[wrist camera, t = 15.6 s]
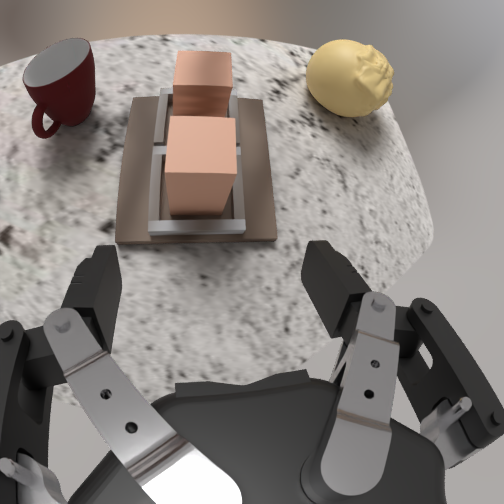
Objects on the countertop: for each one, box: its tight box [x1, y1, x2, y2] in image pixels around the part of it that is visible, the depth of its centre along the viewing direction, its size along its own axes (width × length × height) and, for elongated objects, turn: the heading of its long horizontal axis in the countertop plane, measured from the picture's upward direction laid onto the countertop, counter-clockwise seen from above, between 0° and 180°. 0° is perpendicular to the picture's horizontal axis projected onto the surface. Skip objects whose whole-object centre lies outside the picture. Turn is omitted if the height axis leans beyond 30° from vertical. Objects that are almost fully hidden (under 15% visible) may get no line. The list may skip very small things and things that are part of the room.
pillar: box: [165, 116, 237, 215], centre depth 24 cm, size 5×5×9 cm
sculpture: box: [306, 40, 394, 117], centre depth 32 cm, size 12×12×11 cm
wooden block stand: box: [115, 51, 277, 245], centre depth 25 cm, size 16×18×10 cm
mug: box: [23, 38, 96, 139], centre depth 23 cm, size 11×8×10 cm
